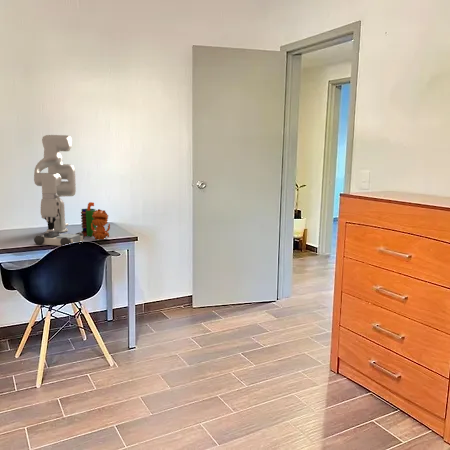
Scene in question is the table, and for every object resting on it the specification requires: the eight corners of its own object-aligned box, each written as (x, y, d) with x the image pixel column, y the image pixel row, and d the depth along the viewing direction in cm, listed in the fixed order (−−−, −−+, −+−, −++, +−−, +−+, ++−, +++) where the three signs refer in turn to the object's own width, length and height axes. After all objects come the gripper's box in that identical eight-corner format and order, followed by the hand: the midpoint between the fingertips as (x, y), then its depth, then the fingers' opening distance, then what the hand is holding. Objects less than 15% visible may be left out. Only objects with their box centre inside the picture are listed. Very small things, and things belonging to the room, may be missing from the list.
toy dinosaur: (88, 240, 258) (87, 209, 255) (94, 236, 269) (93, 207, 266) (107, 240, 258) (106, 210, 254) (112, 237, 268) (111, 207, 265)
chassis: (50, 238, 260) (50, 230, 259) (85, 241, 256) (84, 232, 255) (33, 244, 245) (33, 235, 244) (69, 247, 240) (69, 238, 239)
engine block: (51, 238, 255) (50, 227, 254) (59, 239, 254) (58, 228, 253) (43, 241, 248) (43, 230, 247) (52, 242, 247) (51, 230, 246)
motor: (77, 234, 274) (76, 202, 270) (91, 232, 280) (90, 201, 277) (86, 237, 267) (85, 204, 263) (99, 235, 273) (98, 202, 270)
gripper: (65, 196, 249) (66, 228, 252) (41, 195, 252) (43, 227, 255) (57, 197, 241) (59, 231, 245) (33, 196, 245) (35, 229, 248)
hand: (51, 229), depth 250 cm, fingers closed
